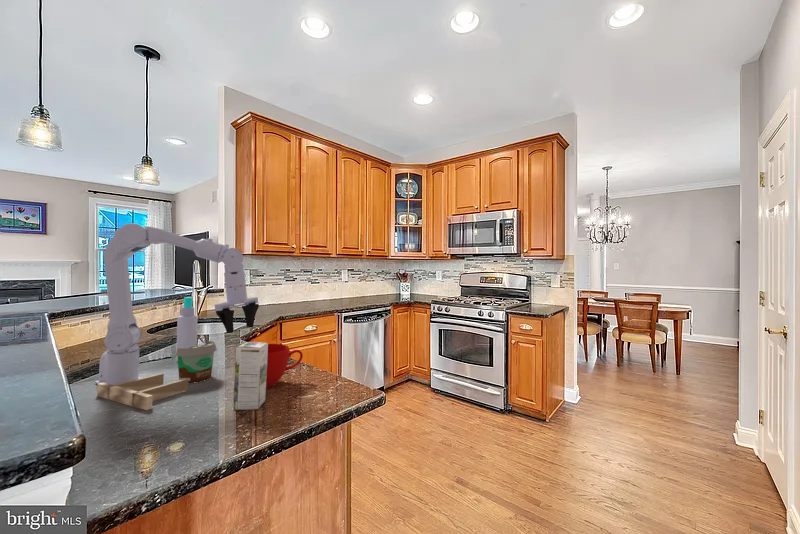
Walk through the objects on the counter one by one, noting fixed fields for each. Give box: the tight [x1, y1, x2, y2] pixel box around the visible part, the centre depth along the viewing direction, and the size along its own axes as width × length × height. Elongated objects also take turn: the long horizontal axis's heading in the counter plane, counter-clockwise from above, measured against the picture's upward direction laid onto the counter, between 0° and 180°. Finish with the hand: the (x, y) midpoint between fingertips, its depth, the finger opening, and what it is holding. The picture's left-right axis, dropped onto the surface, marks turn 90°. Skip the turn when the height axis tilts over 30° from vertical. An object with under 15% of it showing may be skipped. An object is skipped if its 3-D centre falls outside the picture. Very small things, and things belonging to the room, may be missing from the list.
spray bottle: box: [175, 296, 198, 362], centre depth 124 cm, size 6×6×22 cm
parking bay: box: [96, 372, 189, 411], centre depth 89 cm, size 20×13×3 cm, turn 66°
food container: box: [175, 340, 218, 384], centre depth 103 cm, size 12×6×10 cm, turn 168°
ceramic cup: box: [266, 343, 304, 388], centre depth 101 cm, size 13×17×10 cm
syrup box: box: [232, 341, 269, 411], centre depth 84 cm, size 6×6×14 cm
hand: (240, 329), depth 110 cm, fingers open, 7 cm apart
